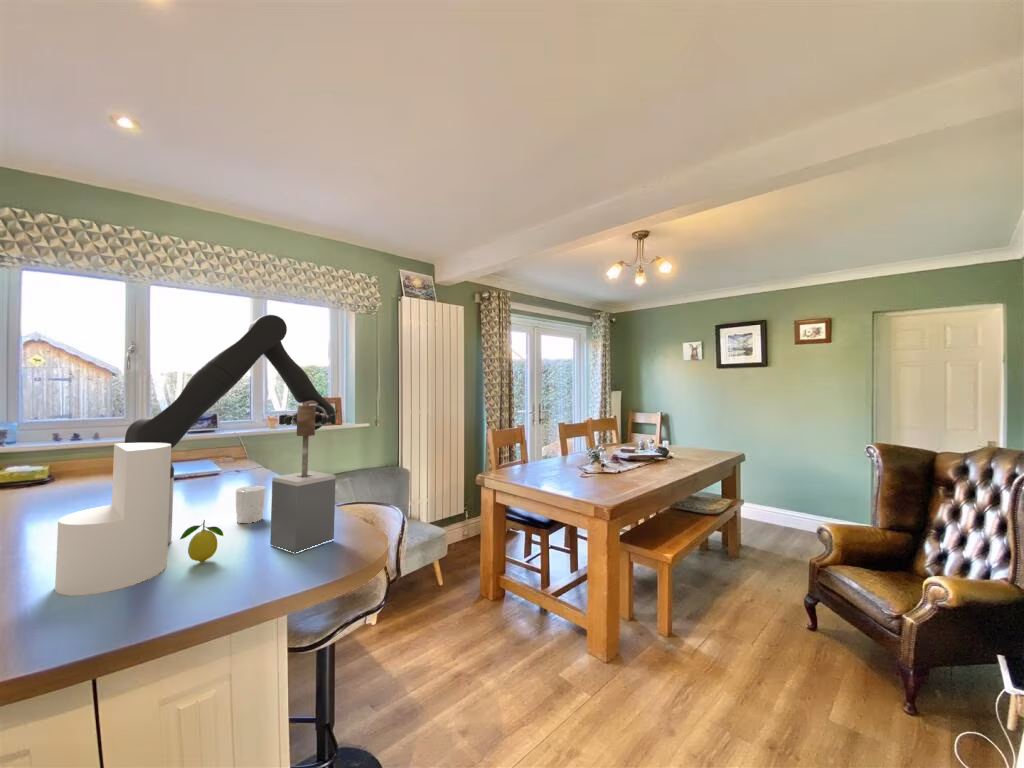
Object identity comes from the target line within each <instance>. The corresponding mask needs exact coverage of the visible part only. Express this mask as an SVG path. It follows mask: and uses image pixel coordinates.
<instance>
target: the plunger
mask: <svg viewBox="0 0 1024 768" xmlns="http://www.w3.org/2000/svg"><path fill="white" fill-rule="evenodd" d="M311 405H312V404H310V405H309V404H308V405H307V404H306V405H305V404H304V405H297V407H296V408H297V410H296V413H297V426H296V436H298V437H302V453H301V472H302V478H304V477H307V474H308V471H309V470H308V468H309V467H308V466H309V464H308V462H309V439H310V438H309V437H311V436H315V435H316V430H315V409H316V406H311Z"/></svg>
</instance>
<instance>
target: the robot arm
mask: <svg viewBox="0 0 1024 768" xmlns="http://www.w3.org/2000/svg"><path fill="white" fill-rule="evenodd" d="M287 332H288V328H287V324H286V322H285V320H284V319H283V318H282V317H280V316H279V315H275V314H265V315H262V316H259V317H257V318H256V319H255V320H254V321H253V322H252V323H251V324H250V325H249V327H248V330H247V332H246V333H244V335H243V336H242V337H241V338H239V340H237V341H236V342H235V343H233V344H231V345H230V346H228V347H227V348H226V349H224V350H222V351H221V352H219V353H218V354H217V355H216V356H214V357H213V358H212V359H210V360H209V361H208V362H207V363H205V364H204V365H203V366H201V368H200V369H198V370H197V371H196V372H195V373H194V374H193V375H192V377H191V378H190V379H189V380H188V382H187V383H186V384H185V386H184V388H183V389H182V391H181V393H180V394H179V395H178V397H177V398H176V399H175V400H174V401H173V402H171V404H170V405H168V406H167V407H166V408H165V409H163V410H162V411H160V412H159V413H158V414H156V415H155V416H154V417H144V418H140V419H137V420H135V421H134V422H132V423H131V424H130V425H129V426H128V428H127V430H126V432H125V436H124V443H169V444H171V450H172V449H173V448H175V446H176V445H177V444H178V443H180V441H181V440H182V439H183V437H184V436H186V434H187V433H188V431H189V430H190V429H191V428H192V427H193V425H194V424H195V423H196V422H197V421H199V419H200V418H201V417H202V416H203V415H204V414H205V413H206V412H207V411H208V410H210V409H211V408H212V407H213V406H214V405H215V404H216V403H218V401H219V400H221V398H223V397H224V396H225V395H226V394H227V393H228V392H230V390H231V389H232V388H234V386H236V384H238V382H239V381H240V380H241V379H242V378H243V377H244V376H245V375H246V374H247V372H248V371H249V370H250V369H252V367H253V365H254V364H255V363H256V362H257V361H258V360H259V359H260V358H261V356H264V357H266V358H267V360H268V361H269V362H270V364H271V366H273V368H274V369H275V370H276V371H277V373H278V375H280V377H281V379H282V380H283V382H284V384H285V385H286V387H287V388H288V390H289V392H290V393H291V394H292V396H293V398H294V399H295V401H296V402H297V403H299V404H303V403H306V402H311V401H312V402H315V403H316V404H310V405H311V406H316V409H315V431H316V430H318V429H320V428H322V426H326V425H329V423H330V424H331V425H336V424H337V423H336V421H337V419H336V418H337V415H336V409H335V408H334V406H333V405H332V404H331V403H330V402H329V401H328V400H327V399H325V398H324V397H323V396H322V395H321V394H320V393H319V392H318V390H317V389H316V388H315V386H314V384H313V382H312V380H311V379H310V378H309V376H308V375H307V373H306V372H305V371H304V369H303V368H301V366H300V365H299V364H297V362H295V361H294V360H293V359H292V357H291V356H290V355H289V353H287V350H286V349H285V347H284V346H283V344H282V341H283V340H284V338H285V337H286V335H287ZM278 417H279V418H278V425H281V426H283V425H286V426H290V425H291V426H295V427H297V412H295V413H292V414H291V415H290V414H288V413H284V414H280V415H279V416H278ZM174 477H175V468H174V465H173V464H172V463H171V466H170V492H169V518H168V544H167V545H169V544H170V543H172V538H173V537H172V536H173V506H174V487H175V486H174V484H175V483H174V479H175V478H174Z"/></svg>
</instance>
